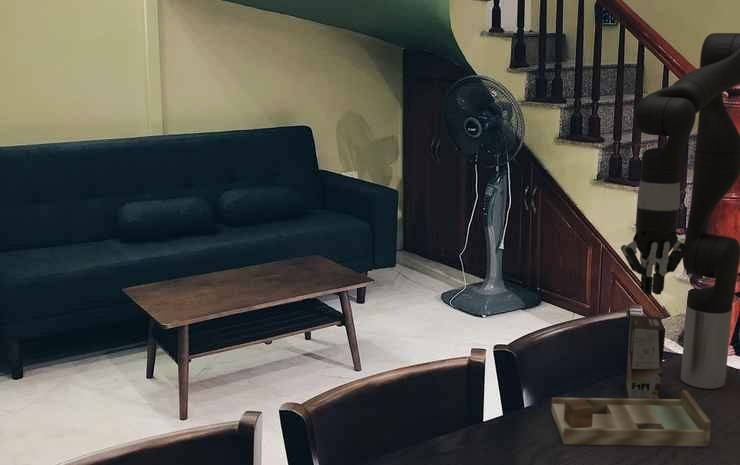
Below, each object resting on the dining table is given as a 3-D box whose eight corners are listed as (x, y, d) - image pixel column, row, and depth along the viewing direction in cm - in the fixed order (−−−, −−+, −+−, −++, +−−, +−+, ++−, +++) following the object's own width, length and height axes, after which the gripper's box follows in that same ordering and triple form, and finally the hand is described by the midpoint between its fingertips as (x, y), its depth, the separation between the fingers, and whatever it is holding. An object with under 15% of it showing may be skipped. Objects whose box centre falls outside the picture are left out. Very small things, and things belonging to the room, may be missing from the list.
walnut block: (563, 419, 171) (564, 400, 170) (582, 417, 172) (584, 398, 171) (572, 428, 167) (573, 409, 166) (592, 426, 168) (593, 407, 167)
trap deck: (563, 444, 165) (564, 419, 164) (551, 411, 179) (552, 388, 178) (708, 446, 164) (711, 421, 163) (684, 413, 178) (686, 390, 177)
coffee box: (660, 403, 183) (666, 330, 179) (628, 400, 184) (633, 328, 181) (655, 386, 192) (661, 316, 188) (625, 383, 193) (629, 314, 189)
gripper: (680, 199, 168) (673, 286, 172) (614, 202, 166) (609, 290, 170) (702, 207, 161) (694, 297, 165) (634, 210, 158) (628, 302, 162)
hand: (651, 293), depth 167 cm, fingers closed
